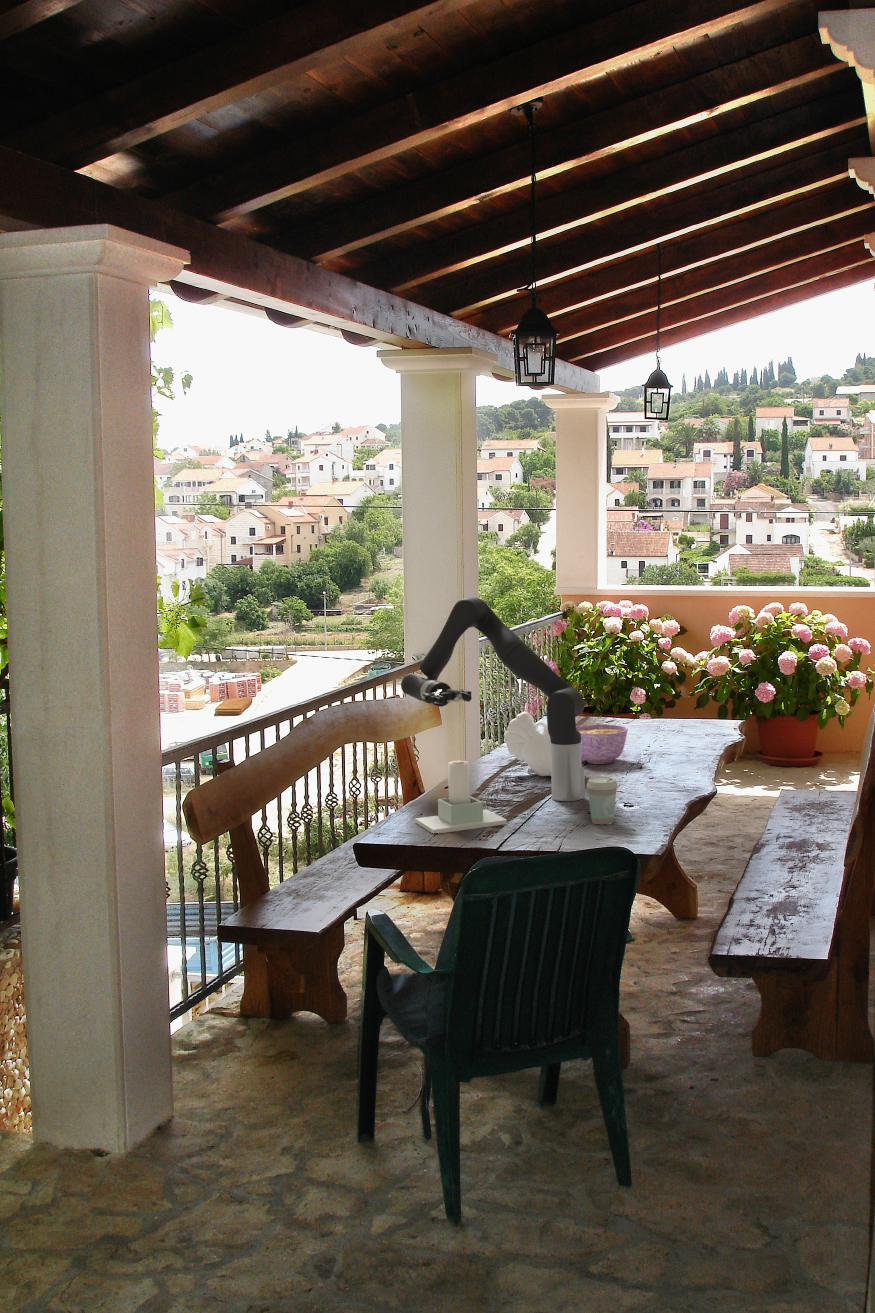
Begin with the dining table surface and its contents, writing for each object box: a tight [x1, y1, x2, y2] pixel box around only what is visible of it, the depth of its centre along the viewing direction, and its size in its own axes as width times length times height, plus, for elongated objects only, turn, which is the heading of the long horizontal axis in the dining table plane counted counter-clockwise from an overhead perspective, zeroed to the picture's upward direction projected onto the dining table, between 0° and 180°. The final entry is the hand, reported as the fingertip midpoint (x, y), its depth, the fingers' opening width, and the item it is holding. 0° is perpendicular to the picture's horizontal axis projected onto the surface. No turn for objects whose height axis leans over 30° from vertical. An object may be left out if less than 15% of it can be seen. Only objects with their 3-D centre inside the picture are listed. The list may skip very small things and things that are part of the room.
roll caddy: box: [414, 795, 508, 835], centre depth 312 cm, size 22×14×6 cm, turn 112°
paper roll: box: [447, 760, 471, 805], centre depth 311 cm, size 6×6×16 cm
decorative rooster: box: [503, 704, 579, 777], centre depth 373 cm, size 25×16×25 cm, turn 59°
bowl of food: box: [576, 723, 629, 765], centre depth 390 cm, size 20×20×12 cm
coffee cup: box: [585, 776, 618, 825], centre depth 308 cm, size 8×8×12 cm
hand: (456, 699), depth 330 cm, fingers open, 8 cm apart
